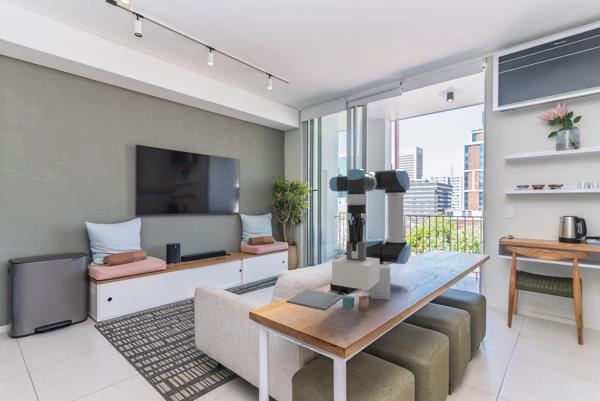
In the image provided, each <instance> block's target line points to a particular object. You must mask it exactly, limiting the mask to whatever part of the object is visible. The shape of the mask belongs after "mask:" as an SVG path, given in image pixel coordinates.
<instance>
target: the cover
mask: <svg viewBox="0 0 600 401" xmlns="http://www.w3.org/2000/svg"><path fill="white" fill-rule="evenodd" d="M357 243H358V259H355V258H352V243H349V240H346V254H345V255H343V256H341V257H338V258H336V259H333V260H332V261H331V278H332V279H331V281H332V282H331V283H332V284H333V285H339V286H345V287H351V288H357V289H358V290H363V291H364V290H365V291H370V290H371V288H372V287H373V286H374V285H375V284H376V283H377V282H379V281H380V258H370V257H366V242H365V241H363V242H360V241H357Z"/></svg>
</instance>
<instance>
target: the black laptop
mask: <svg viewBox="0 0 600 401" xmlns="http://www.w3.org/2000/svg"><path fill="white" fill-rule="evenodd" d="M329 288H330V291H332V290H333V291H334V292H336V291H337V295H343V294H344V293H345V294H344V295H349V294H351V293H353V291H354V292H355V291H357V290H359V289H357V288H351V287H345V286H339V285H333V284H332V282H331V283H330V286H329Z"/></svg>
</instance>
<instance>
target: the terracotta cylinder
mask: <svg viewBox="0 0 600 401" xmlns="http://www.w3.org/2000/svg"><path fill="white" fill-rule="evenodd" d="M358 310H360V311H362V312H363V311H364V312H365V311H369V296H365V295H359V297H358Z"/></svg>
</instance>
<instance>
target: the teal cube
mask: <svg viewBox="0 0 600 401" xmlns="http://www.w3.org/2000/svg"><path fill="white" fill-rule="evenodd" d="M343 296H344V297H343V298H342V307H343V308H348V309H352V308H353V307H354V306H355V296H352V295H349V294H345V295H343Z"/></svg>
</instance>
